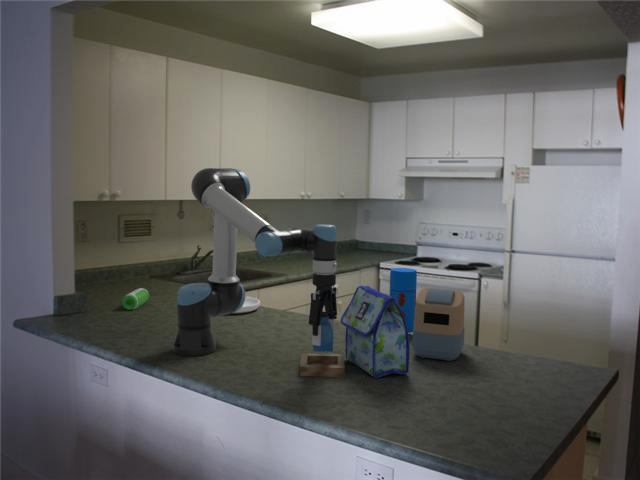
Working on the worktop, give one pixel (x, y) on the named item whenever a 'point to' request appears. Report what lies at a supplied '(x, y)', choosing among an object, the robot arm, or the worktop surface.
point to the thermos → (404, 292)
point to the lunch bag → (376, 333)
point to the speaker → (135, 299)
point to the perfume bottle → (325, 335)
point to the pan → (248, 305)
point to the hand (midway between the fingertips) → (322, 341)
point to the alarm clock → (439, 324)
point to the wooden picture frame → (322, 365)
